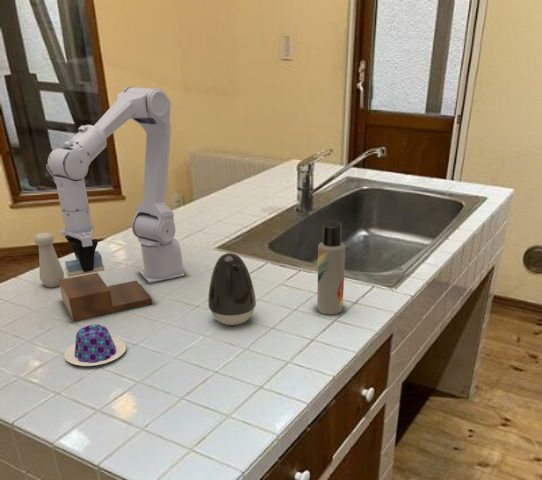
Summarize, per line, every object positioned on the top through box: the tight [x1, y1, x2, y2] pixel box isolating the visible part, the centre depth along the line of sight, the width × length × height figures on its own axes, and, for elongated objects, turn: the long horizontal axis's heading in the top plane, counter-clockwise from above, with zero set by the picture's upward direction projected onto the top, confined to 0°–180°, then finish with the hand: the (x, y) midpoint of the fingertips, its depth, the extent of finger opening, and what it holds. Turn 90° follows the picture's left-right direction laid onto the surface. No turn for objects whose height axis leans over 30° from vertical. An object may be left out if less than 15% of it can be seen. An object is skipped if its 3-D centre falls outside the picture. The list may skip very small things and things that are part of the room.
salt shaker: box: [34, 232, 65, 288], centre depth 149 cm, size 6×6×13 cm
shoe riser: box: [59, 272, 153, 322], centre depth 140 cm, size 18×12×6 cm, turn 117°
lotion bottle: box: [316, 219, 346, 316], centre depth 131 cm, size 6×6×20 cm
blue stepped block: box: [64, 250, 105, 278], centre depth 135 cm, size 8×3×4 cm, turn 117°
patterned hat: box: [63, 324, 127, 367], centre depth 120 cm, size 12×12×5 cm
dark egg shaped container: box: [207, 252, 257, 326], centre depth 129 cm, size 10×10×15 cm
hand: (86, 268), depth 136 cm, fingers closed on blue stepped block, 3 cm apart
